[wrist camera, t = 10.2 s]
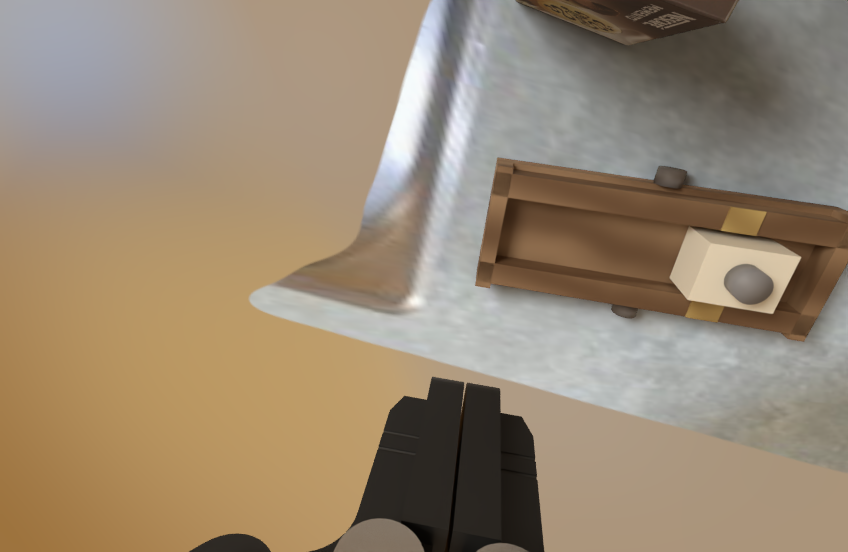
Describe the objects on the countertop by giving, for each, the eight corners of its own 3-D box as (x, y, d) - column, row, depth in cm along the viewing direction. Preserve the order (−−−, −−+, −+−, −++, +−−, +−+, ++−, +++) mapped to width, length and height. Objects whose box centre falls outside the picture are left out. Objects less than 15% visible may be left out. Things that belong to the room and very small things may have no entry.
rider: (689, 225, 36) (720, 251, 31) (770, 238, 35) (815, 266, 30) (669, 277, 37) (696, 310, 32) (745, 290, 37) (785, 325, 32)
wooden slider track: (500, 142, 37) (500, 149, 33) (845, 191, 34) (881, 204, 31) (474, 281, 42) (473, 299, 39) (773, 331, 40) (798, 355, 36)
